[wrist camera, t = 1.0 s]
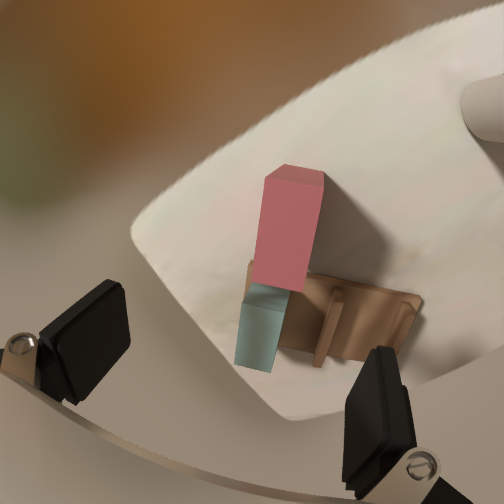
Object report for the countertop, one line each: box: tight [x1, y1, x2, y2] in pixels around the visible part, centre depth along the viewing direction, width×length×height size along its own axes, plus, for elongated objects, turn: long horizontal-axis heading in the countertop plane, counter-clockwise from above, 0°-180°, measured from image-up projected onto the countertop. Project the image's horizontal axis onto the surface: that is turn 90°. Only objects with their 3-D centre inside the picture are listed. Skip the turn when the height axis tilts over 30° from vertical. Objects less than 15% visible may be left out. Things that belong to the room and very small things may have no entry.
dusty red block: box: [251, 164, 324, 292], centre depth 26 cm, size 4×8×10 cm, turn 172°
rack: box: [234, 260, 422, 373], centre depth 31 cm, size 20×10×7 cm, turn 82°
